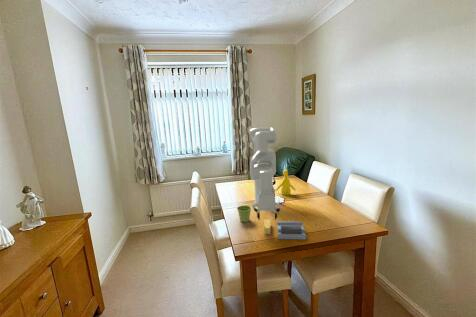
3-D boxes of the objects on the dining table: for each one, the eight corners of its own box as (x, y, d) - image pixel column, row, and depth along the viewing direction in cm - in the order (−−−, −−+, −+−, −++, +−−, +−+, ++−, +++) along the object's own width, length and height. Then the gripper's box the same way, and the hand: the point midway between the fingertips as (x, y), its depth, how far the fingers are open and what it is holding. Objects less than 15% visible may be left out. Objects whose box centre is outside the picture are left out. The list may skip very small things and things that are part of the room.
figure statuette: (295, 192, 200) (295, 167, 196) (297, 195, 193) (296, 170, 189) (274, 193, 201) (274, 168, 197) (275, 196, 194) (275, 170, 190)
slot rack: (277, 225, 143) (277, 221, 143) (302, 225, 141) (302, 221, 141) (278, 238, 128) (278, 234, 127) (306, 239, 126) (306, 235, 125)
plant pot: (243, 216, 159) (242, 204, 157) (254, 219, 153) (254, 207, 152) (234, 221, 152) (234, 208, 150) (246, 224, 146) (245, 212, 144)
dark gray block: (300, 232, 131) (300, 226, 130) (301, 235, 127) (301, 229, 127) (281, 232, 132) (280, 226, 132) (281, 235, 129) (281, 229, 128)
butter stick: (264, 225, 145) (264, 219, 144) (270, 225, 144) (270, 219, 143) (264, 234, 134) (264, 227, 133) (270, 234, 133) (270, 227, 133)
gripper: (281, 189, 137) (281, 216, 139) (251, 189, 139) (253, 216, 142) (281, 193, 129) (282, 221, 132) (250, 193, 132) (252, 221, 134)
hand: (267, 219), depth 137 cm, fingers open, 9 cm apart
